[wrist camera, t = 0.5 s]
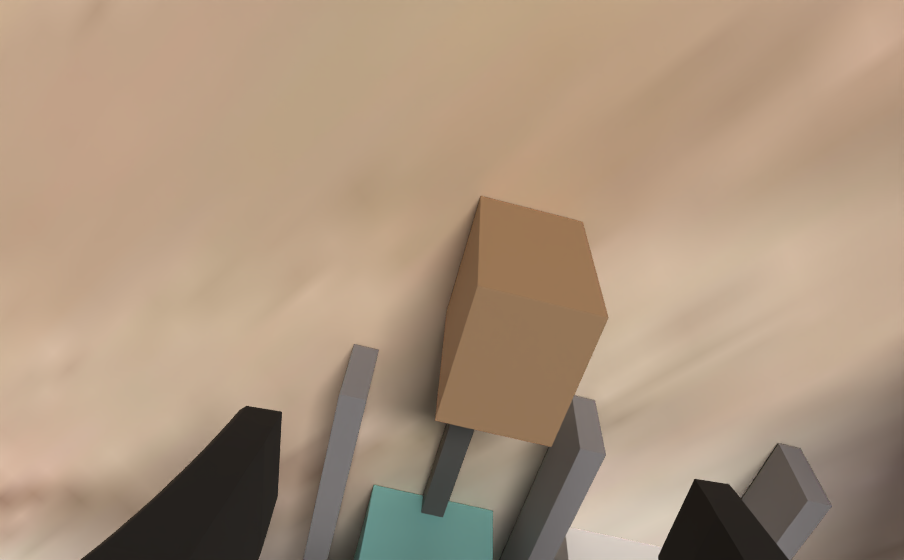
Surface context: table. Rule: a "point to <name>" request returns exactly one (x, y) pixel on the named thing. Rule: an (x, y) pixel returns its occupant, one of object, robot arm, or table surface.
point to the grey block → (603, 547)
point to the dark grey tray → (564, 479)
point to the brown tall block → (496, 371)
